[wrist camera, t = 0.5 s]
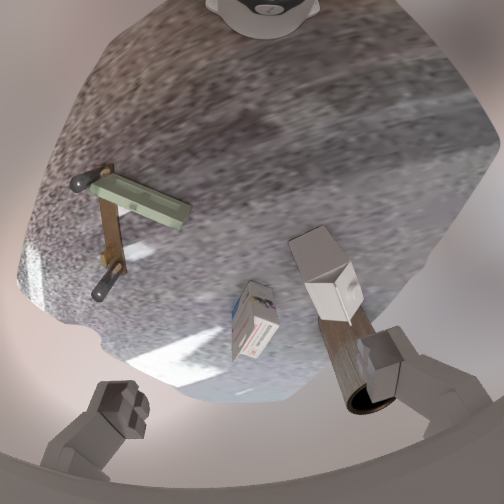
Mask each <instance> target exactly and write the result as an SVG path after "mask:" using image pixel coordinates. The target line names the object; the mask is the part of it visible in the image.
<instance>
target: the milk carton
mask: <svg viewBox="0 0 504 504" xmlns="http://www.w3.org/2000/svg"><path fill="white" fill-rule="evenodd" d="M288 243H289V246H290V248H291V251H292V253H293V256H294V258H295V261H296V263H297V266H298V268H299V271H300V274H301V276H302V279H303V281H304V284H305V286H306V288H307V290H308V293H309V295H310V297H311V299H312V301H313V303H314V305H315V307H316V310H317V312H318V314H319V316H320V318H321V319H323V320H335V321H348V322H349V324H350V326H351V322H350V319H351V318H352V316H353V315H354V314H355V312H356V311H357V309H358V308H359V306H360V305H361V303H362V301H363V300H364V298H363V294H362V291H361V286H360V285H359V282H358V280H357V277H356V274H355V271H354V268H353V265H352V263H351V261H350V259H349V258H348V257H347V255H346V254H345V253H344V251H343V250H342V249H341V247H340V246H339V245H338V243H337V242H336V241H335V240H334V238H333V237H332V236H331V234H330V233H329V232H328V231H327V229H326V228H325V227H324V225H323V226H320V227H318V228H316V229H314V230H312V231H310V232H308V233H306V234H304V235H301V236H299V237H297V238H295V239H293V240H291V241H289V242H288Z"/></svg>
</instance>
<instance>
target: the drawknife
mask: <svg viewBox="0 0 504 504" xmlns="http://www.w3.org/2000/svg"><path fill="white" fill-rule="evenodd" d="M113 173H114V165H113V164H108V165H99V166H96V169H93V170H91V171H88V172H86V173H83V174H81V175H78V176H76V177H73V178H72V179H71V181H70V188H71V190H72V191H73V192H75V193H79V192H81V191H83V190H85V189H87V188H89V187H90V186H91V184H92V183H94V182H96V181H98V180H100V179H102V178H104V177H106V176H108V175H111V174H113ZM99 202H100V209H101V217H102V224H103V230H104V236H105V242H106V249H105V250H104V251H103V253H102V254H101V260H102V265H103V267H107V266H108V264H110V268H109V270H108V271H107V272H106V274H105V275H104V276H103V278H102V279H101V280H100V282H99V283H98V284H97V286H96V287H95V288H94V290H93V291H92V293H91V296H92V298H93V299H94V300H95V301H96V302H102V301H103V300H104V298H105V297H106V295H107V294H108V292H109V291H110V289H111V288H112V286H113V285H114V283H115V282H116V280H117V279H118V277H119V276H120V274H126V273H127V269H126V263H125V257H124V251H123V245H122V238H121V231H120V224H119V216H118V208H117V204H115V203H113V202H110V201H108V200H106V199H103V198H101V197H99Z"/></svg>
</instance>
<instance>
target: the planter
mask: <svg viewBox="0 0 504 504" xmlns="http://www.w3.org/2000/svg"><path fill="white" fill-rule="evenodd" d="M350 322H351V326H350V324H349V322H348V321H335V320H323V319H321V318H320V316H319V319H318V325H319V329H320V332H321V334H322V337H323V340H324V343H325V346H326V349H327V351H328V354H329V357H330V360H331V363H332V366H333V369H334V371H335V374H336V377H337V380H338V383H339V386H340V389H341V392H342V395H343V398H344V401H345V404H346V407H347V409H348V411H349V412H351V413H353V414H357V415H366V414H371V413H374V412H377V411H379V410H381V409H383V408H385V407H387V406H388V405H390V404H391V403H392V402H393V401H394V400H395V399H396V397H395V396H394V397H391V398H388V399H385V400H381V401H378V402H375V403H372V401H371V399H370V396H369V394H368V391H367V382H366V381H364V380H363V379H362V377H361V374H360V371H359V367H358V358H357V355H358V354H359V353H360V351H359V349H358V347H357V341H358V338H361V337H365V336H368V335H371V334H374V333H376V332H375V331H374V329H373V327H372V325H371V324H370V322H369V320H368V318H367V317H366V315H365V313H364V312H363V310H362V308H361V307H360V306H359V308H358V309H357V311H356V312H355V314H354V315H353V316H352V318H351V319H350Z"/></svg>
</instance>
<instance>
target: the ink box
mask: <svg viewBox="0 0 504 504" xmlns="http://www.w3.org/2000/svg"><path fill="white" fill-rule="evenodd" d="M279 326H280V325H279V321H278V316H277V311H276V306H275V301H274V297H273V292H272V289H271V288H269V287H266V286H264V285H261V284H258V283H256V282H253V281H249V283H248V285H247V287H246V288H245V290H244V292H243V294H242V296H241V297H240V299H239V301H238V303H237V305H236V306H235V308H234V310H233V312H232V359H233V363H234V362H235V360H236V358H237V357H238V355H239V354H243V355H247V356H250V357H253V358H257V357H258V356H259V354H260V353H261V352H262V350H263V349H264V347H265V346H266V345H267V343H268V342H269V340H270V339H271V337H272V336H273V334H274V333H275V332H276V330H277V329H278V327H279Z"/></svg>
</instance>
